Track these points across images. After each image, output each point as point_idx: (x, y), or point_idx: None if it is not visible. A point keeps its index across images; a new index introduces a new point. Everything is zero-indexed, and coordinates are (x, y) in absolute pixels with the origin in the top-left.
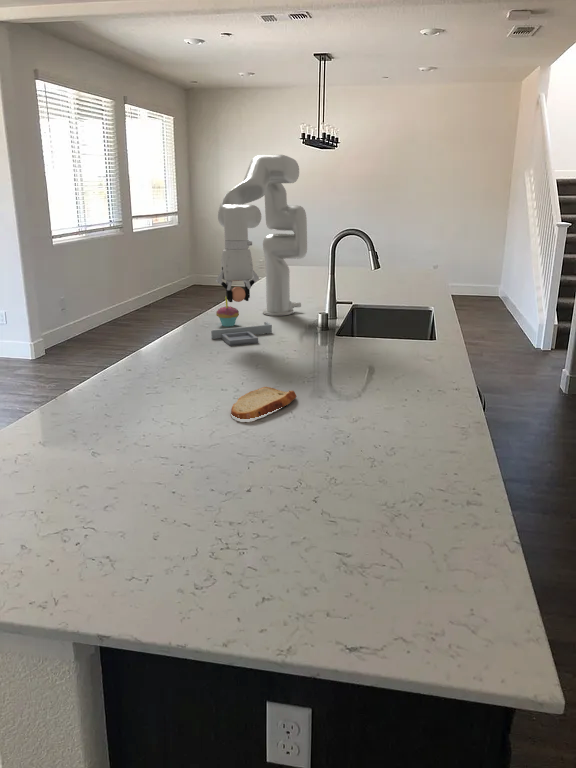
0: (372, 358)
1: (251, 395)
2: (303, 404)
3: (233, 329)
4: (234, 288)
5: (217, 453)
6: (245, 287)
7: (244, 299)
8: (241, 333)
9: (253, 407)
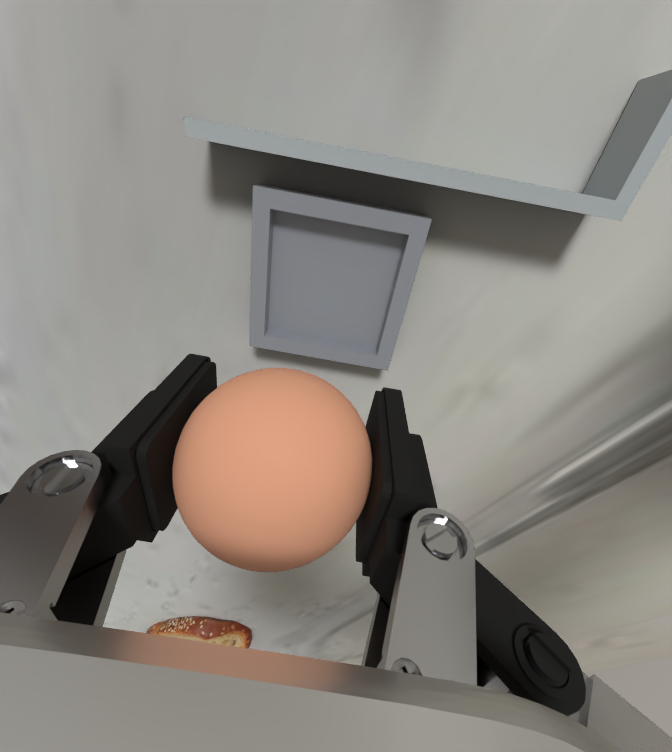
0: (526, 601)
1: (179, 636)
2: (252, 648)
3: (344, 167)
4: (196, 537)
5: None
6: (377, 559)
7: (372, 406)
8: (372, 227)
9: None
